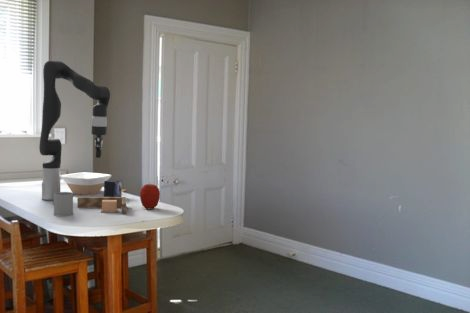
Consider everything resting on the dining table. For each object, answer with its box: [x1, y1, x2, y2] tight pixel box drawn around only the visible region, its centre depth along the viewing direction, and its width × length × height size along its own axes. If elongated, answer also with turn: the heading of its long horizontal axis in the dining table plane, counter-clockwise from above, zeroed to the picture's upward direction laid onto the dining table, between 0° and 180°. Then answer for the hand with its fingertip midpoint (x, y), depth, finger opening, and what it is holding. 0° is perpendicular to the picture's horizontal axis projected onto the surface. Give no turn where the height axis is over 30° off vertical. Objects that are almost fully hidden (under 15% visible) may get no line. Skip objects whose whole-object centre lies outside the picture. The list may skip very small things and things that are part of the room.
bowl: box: [60, 171, 112, 196], centre depth 305 cm, size 24×25×11 cm
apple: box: [139, 183, 161, 210], centre depth 261 cm, size 10×10×14 cm
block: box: [101, 200, 118, 213], centre depth 252 cm, size 4×7×5 cm, turn 103°
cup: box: [53, 191, 74, 217], centre depth 241 cm, size 8×8×10 cm
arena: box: [76, 196, 127, 215], centre depth 254 cm, size 24×20×5 cm
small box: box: [103, 178, 123, 197], centre depth 289 cm, size 11×6×10 cm, turn 168°
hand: (98, 156), depth 263 cm, fingers open, 8 cm apart
